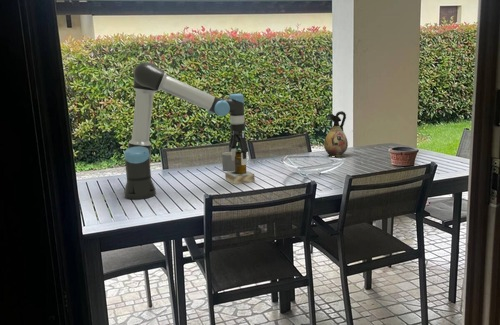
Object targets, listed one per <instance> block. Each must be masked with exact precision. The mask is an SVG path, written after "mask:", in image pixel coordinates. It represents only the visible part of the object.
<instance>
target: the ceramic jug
mask: <svg viewBox="0 0 500 325" xmlns="http://www.w3.org/2000/svg"><path fill="white" fill-rule="evenodd" d="M340 115H341V116H342V119H341V118H340ZM346 119H347V114H346V112H345V111H342V110H340V111H338V112H336V113H335V114H333V113H330V114H329V116H328V117H327V120H329V121H331V122H333V124H332V127H331V128H330V129H329V131H328V133H327V135H326V136H325V139H324V143H323V147H324V150H325V152H326V153H327V155H328V154H329V155H330V156H336V157H335V158H341V157H343V155H344V154H345V153H346V151H347V150H348V146H349V142H348V139H347V136H346V134H345V132H344V125H345V122H346ZM339 122H341V123H339ZM329 155H328V156H329ZM330 156H329V157H330Z"/></svg>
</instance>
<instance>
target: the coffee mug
mask: <svg viewBox="0 0 500 325" xmlns="http://www.w3.org/2000/svg"><path fill="white" fill-rule="evenodd" d="M221 160H222V161H221V165H222V171H223V172H233V171H235V160H234V161H232V155H231V151H225V152H222V154H221Z"/></svg>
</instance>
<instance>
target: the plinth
mask: <svg viewBox="0 0 500 325" xmlns="http://www.w3.org/2000/svg"><path fill="white" fill-rule="evenodd" d="M224 172H225V174H224V175H225V177H224V179H225V181H227V182H229V183H231V184H232V185H238V184H245V183H252V182H253V183H254V182H255V173H253V172H250V171H249V170H247V169H246V172H249V173H247V174H240V175H234V174H231V173H230V172H231V171H230V172H228V171H224ZM232 172H235V171H232Z"/></svg>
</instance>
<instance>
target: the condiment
mask: <svg viewBox="0 0 500 325" xmlns="http://www.w3.org/2000/svg"><path fill="white" fill-rule="evenodd" d="M235 153H236V154H235V155H236V156H235V172H233V171H230V173H231V174H234V175H240V174H247V173H249V172H250V171H249V172H246V170H247V165H241V150H236V152H235Z"/></svg>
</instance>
